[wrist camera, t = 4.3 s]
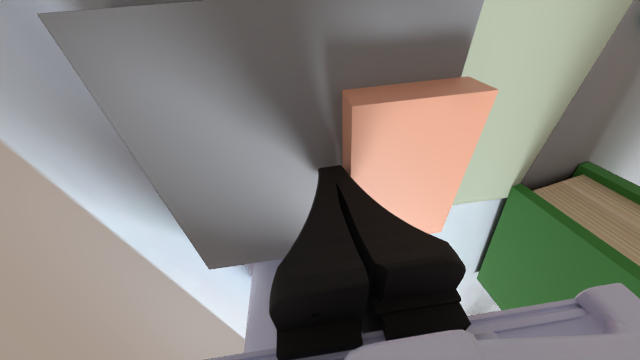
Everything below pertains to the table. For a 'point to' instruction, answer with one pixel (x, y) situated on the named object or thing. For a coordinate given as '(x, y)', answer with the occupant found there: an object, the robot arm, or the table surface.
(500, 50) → the sage mat
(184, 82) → the block
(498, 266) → the hardback book
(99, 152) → the table surface
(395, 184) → the terracotta tile
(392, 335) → the robot arm
